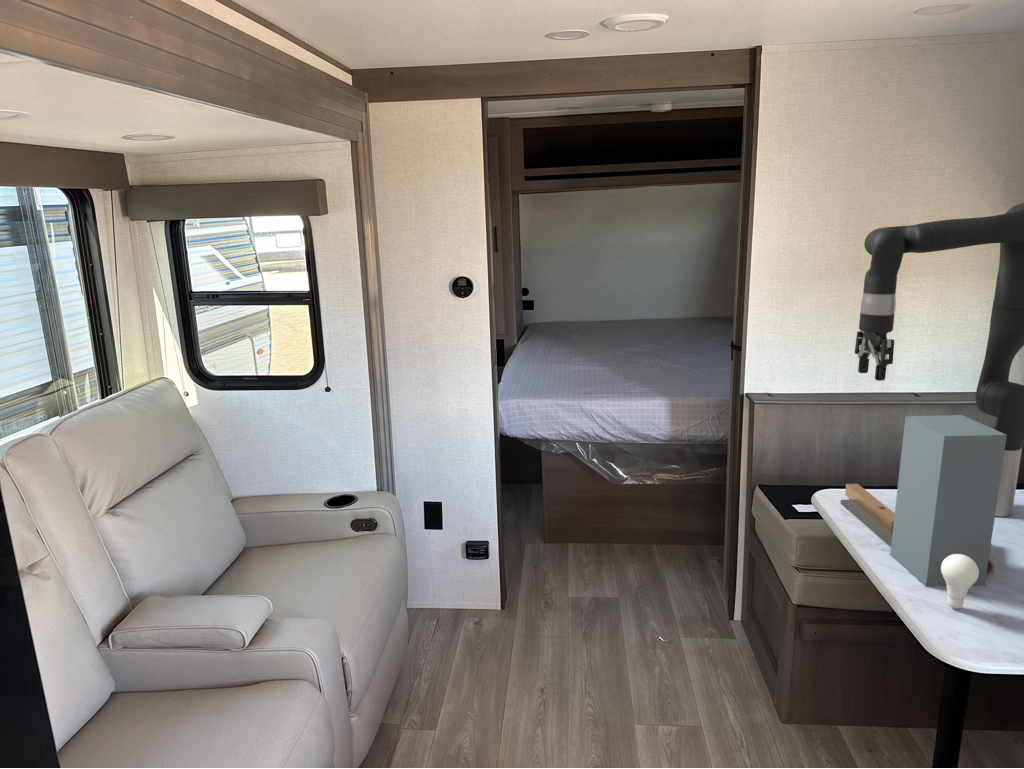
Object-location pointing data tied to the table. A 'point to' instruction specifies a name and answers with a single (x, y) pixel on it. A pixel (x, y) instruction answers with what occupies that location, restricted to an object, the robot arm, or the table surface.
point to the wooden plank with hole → (871, 506)
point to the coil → (990, 563)
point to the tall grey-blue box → (946, 494)
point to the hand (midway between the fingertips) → (871, 376)
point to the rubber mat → (868, 521)
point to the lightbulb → (958, 577)
